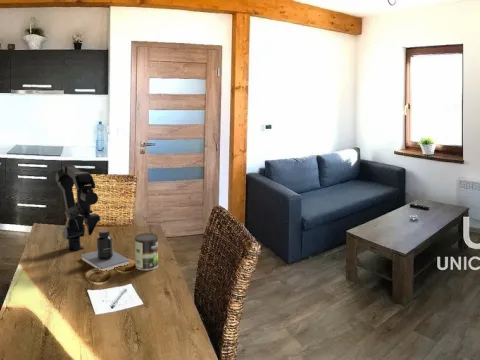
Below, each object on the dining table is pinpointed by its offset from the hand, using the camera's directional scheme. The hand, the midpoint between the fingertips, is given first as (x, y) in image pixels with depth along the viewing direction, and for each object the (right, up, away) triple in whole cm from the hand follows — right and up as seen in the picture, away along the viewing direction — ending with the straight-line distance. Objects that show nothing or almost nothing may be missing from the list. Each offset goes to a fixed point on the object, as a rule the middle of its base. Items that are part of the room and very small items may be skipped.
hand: (85, 232), depth 195 cm
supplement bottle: (+10, -11, -1) cm, 15 cm away
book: (+9, -14, 0) cm, 17 cm away
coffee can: (+29, -15, -3) cm, 33 cm away
